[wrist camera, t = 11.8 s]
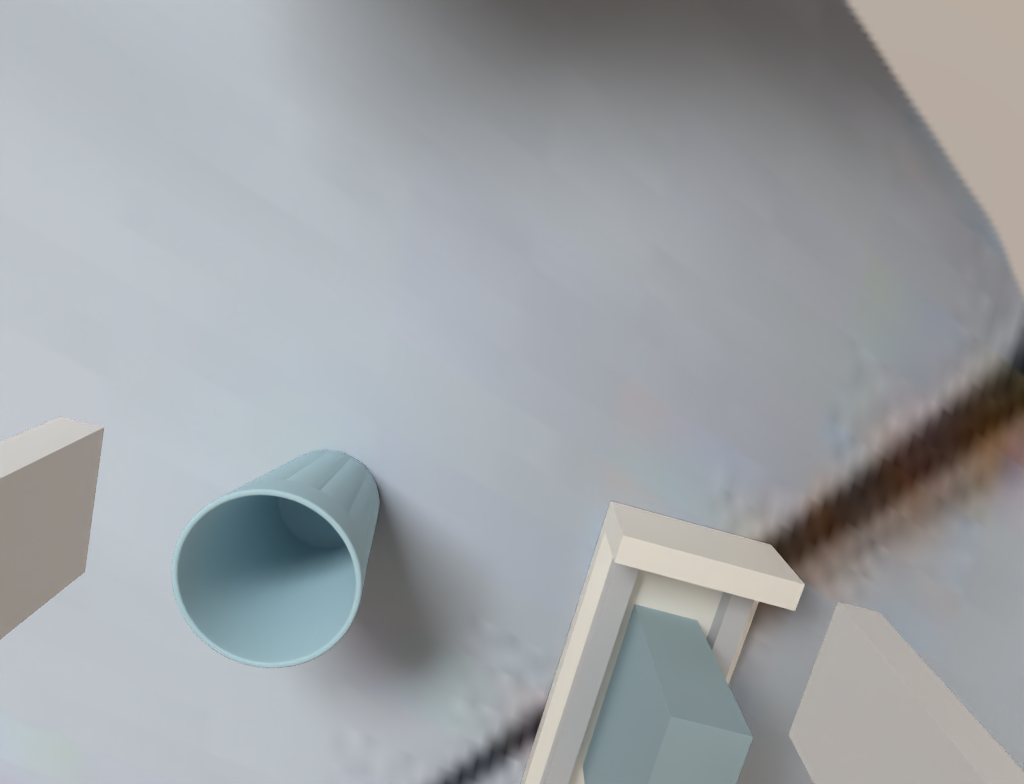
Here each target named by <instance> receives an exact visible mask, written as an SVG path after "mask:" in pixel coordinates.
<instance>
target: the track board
mask: <svg viewBox="0 0 1024 784" xmlns="http://www.w3.org/2000/svg"><path fill="white" fill-rule="evenodd" d="M804 586H805V584H804V583H803V582H802V581H801V579H800V578H799V577H798V576H797V575H796V573H795V572H794V571H793V570H792V569H791V568H790V566H789V565H788V564H787V563H786V562H785V561H784V559H783V558H782V557H781V556H780V555H779V554H778V552H777V551H776V550H775V549H774V548H773V546H772V545H770V544H767V543H763V542H759V541H756V540H752V539H748V538H745V537H741V536H737V535H734V534H730V533H726V532H723V531H719V530H715V529H712V528H708V527H704V526H701V525H697V524H693V523H690V522H686V521H682V520H679V519H675V518H671V517H668V516H664V515H660V514H657V513H653V512H649V511H646V510H642V509H638V508H635V507H631V506H627V505H624V504H620V503H616V502H613V501H611V502H610V505H609V508H608V511H607V514H606V517H605V520H604V524H603V527H602V530H601V533H600V536H599V539H598V542H597V546H596V549H595V552H594V555H593V558H592V561H591V564H590V568H589V571H588V574H587V577H586V580H585V583H584V586H583V590H582V593H581V596H580V599H579V602H578V605H577V608H576V612H575V615H574V618H573V621H572V624H571V627H570V630H569V634H568V637H567V640H566V643H565V646H564V649H563V652H562V656H561V659H560V662H559V665H558V668H557V671H556V674H555V678H554V681H553V684H552V687H551V690H550V693H549V696H548V700H547V703H546V706H545V709H544V712H543V715H542V718H541V722H540V725H539V728H538V731H537V734H536V737H535V740H534V744H533V747H532V750H531V753H530V756H529V759H528V762H527V766H526V769H525V772H524V775H523V778H522V781H521V784H585V782H584V773H583V763H584V760H585V757H586V754H587V751H588V747H589V744H590V741H591V738H592V735H593V732H594V729H595V726H596V723H597V719H598V716H599V713H600V710H601V707H602V704H603V701H604V698H605V695H606V691H607V688H608V685H609V682H610V679H611V676H612V673H613V670H614V666H615V663H616V660H617V657H618V654H619V651H620V648H621V645H622V642H623V638H624V635H625V632H626V629H627V626H628V623H629V620H630V617H631V614H632V610H633V607H634V604H636V605H640V606H644V607H647V608H651V609H655V610H659V611H663V612H667V613H671V614H675V615H679V616H682V617H686V618H690V619H694V620H697V621H698V623H699V625H700V627H701V629H702V631H703V633H704V635H705V637H706V639H707V642H708V644H709V646H710V648H711V650H712V652H713V654H714V656H715V658H716V660H717V662H718V664H719V667H720V669H721V671H722V673H723V675H724V677H725V679H726V681H727V683H728V685H729V682H730V680H731V677H732V674H733V672H734V669H735V666H736V663H737V661H738V658H739V655H740V652H741V650H742V647H743V644H744V641H745V639H746V636H747V633H748V630H749V628H750V625H751V622H752V619H753V617H754V614H755V611H756V608H757V606H758V603H759V601H760V602H763V603H767V604H771V605H774V606H778V607H782V608H786V609H789V610H793V611H795V610H796V607H797V605H798V602H799V599H800V597H801V594H802V591H803V589H804Z"/></svg>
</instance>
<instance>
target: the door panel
mask: <svg viewBox="0 0 1024 784" xmlns="http://www.w3.org/2000/svg"><path fill="white" fill-rule="evenodd" d="M752 739H753V735H752V733H751V731H750V729H749V727H748V725H747V723H746V721H745V719H744V717H743V715H742V712H741V710H740V708H739V706H738V704H737V702H736V700H735V698H734V696H733V694H732V692H731V690H730V687H729V685H728V683H727V681H726V679H725V677H724V675H723V673H722V671H721V669H720V667H719V664H718V662H717V660H716V658H715V656H714V654H713V652H712V650H711V648H710V646H709V644H708V642H707V639H706V637H705V635H704V633H703V631H702V629H701V627H700V625H699V623H698V621H697V620H694V619H690V618H686V617H682V616H679V615H675V614H671V613H667V612H663V611H659V610H655V609H651V608H647V607H644V606H640V605H636V604H634V607H633V610H632V614H631V617H630V620H629V623H628V626H627V629H626V632H625V635H624V638H623V642H622V645H621V648H620V651H619V654H618V657H617V660H616V663H615V666H614V670H613V673H612V676H611V679H610V682H609V685H608V688H607V691H606V695H605V698H604V701H603V704H602V707H601V710H600V713H599V716H598V719H597V723H596V726H595V729H594V732H593V735H592V738H591V741H590V744H589V747H588V751H587V754H586V757H585V760H584V763H583V773H584V782H585V784H736V783H737V780H738V778H739V775H740V772H741V769H742V767H743V764H744V761H745V758H746V756H747V753H748V750H749V747H750V745H751V742H752Z"/></svg>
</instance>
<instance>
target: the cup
mask: <svg viewBox="0 0 1024 784" xmlns="http://www.w3.org/2000/svg"><path fill="white" fill-rule="evenodd" d="M379 506H380V498H379V494H378V489H377V485H376V482H375V480H374V478H373V476H372V475H371V474H370V472H369V471H368V470H367V468H366V467H365V466H364V465H363V464H362V463H361V462H360V461H358V460H356V459H355V458H353V457H351V456H349V455H347V454H345V453H342V452H339V451H328V450H318V451H313V452H311V453H309V454H306V455H303V456H300V457H298V458H296V459H294V460H292V461H290V462H288V463H286V464H285V465H283V466H281V467H279V468H277V469H275V470H273V471H271V472H269V473H267V474H265V475H263V476H261V477H260V478H258V479H256V480H254V481H252V482H250V483H248V484H246V485H244V486H242V487H240V488H238V489H236V490H234V491H232V492H230V493H228V494H226V495H224V496H222V497H220V498H219V499H217V500H215V501H213V502H211V503H210V504H208V505H207V506H206V507H204V508H203V509H202V510H201V511H199V512H198V513H197V514H196V515H195V516H194V517H193V519H192V520H191V521H190V522H189V523H188V524H187V526H186V527H185V529H184V531H183V532H182V534H181V536H180V538H179V540H178V542H177V545H176V548H175V551H174V555H173V561H172V585H173V591H174V595H175V599H176V602H177V604H178V607H179V609H180V611H181V613H182V615H183V617H184V619H185V621H186V622H187V623H188V625H189V626H190V628H191V629H192V630H193V632H194V633H195V634H196V635H197V636H198V637H199V638H200V639H201V640H202V641H203V642H204V643H206V644H207V645H208V646H209V647H211V648H212V649H213V650H215V651H216V652H218V653H220V654H221V655H223V656H225V657H227V658H229V659H231V660H234V661H236V662H239V663H242V664H246V665H250V666H255V667H262V668H283V667H290V666H295V665H299V664H302V663H305V662H308V661H311V660H312V659H314V658H316V657H318V656H320V655H322V654H323V653H325V652H326V651H328V650H329V649H330V648H332V647H333V646H334V645H335V644H336V643H337V642H338V641H339V640H340V639H341V638H342V637H343V636H344V635H345V633H346V632H347V631H348V629H349V628H350V626H351V624H352V622H353V621H354V618H355V616H356V614H357V611H358V608H359V605H360V601H361V596H362V591H363V587H364V582H365V576H366V569H367V564H368V559H369V555H370V550H371V545H372V540H373V536H374V531H375V526H376V522H377V517H378V512H379Z"/></svg>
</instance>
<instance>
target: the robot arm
mask: <svg viewBox="0 0 1024 784" xmlns="http://www.w3.org/2000/svg"><path fill="white" fill-rule="evenodd" d="M103 432H104V427H101V426H97V425H92V424H88V423H84V422H80V421H76V420H71V419H67V418H63V417H58V418H55V419H53V420H51V421H48V422H46V423H44V424H41V425H39V426H36V427H34V428H32V429H29V430H27V431H25V432H22V433H20V434H18V435H15V436H13V437H10V438H8V439H6V440H3V441H1V442H0V639H1V638H3V637H4V636H5V635H6V634H8V633H9V632H10V631H11V630H13V629H14V628H15V627H16V626H18V625H19V624H20V623H21V622H23V621H24V620H25V619H26V618H28V617H29V616H30V615H31V614H33V613H34V612H35V611H36V610H38V609H39V608H40V607H41V606H43V605H44V604H45V603H46V602H48V601H49V600H50V599H51V598H53V597H54V596H55V595H56V594H58V593H59V592H60V591H61V590H63V589H64V588H65V587H66V586H68V585H69V584H70V583H71V582H73V581H74V580H75V579H76V578H78V577H79V576H80V575H82V574H83V573H84V572H85V567H86V559H87V552H88V544H89V537H90V529H91V522H92V514H93V507H94V499H95V492H96V484H97V477H98V470H99V462H100V455H101V447H102V440H103ZM789 736H790V738H791V740H792V742H793V744H794V746H795V748H796V750H797V752H798V754H799V756H800V758H801V760H802V762H803V764H804V766H805V768H806V770H807V772H808V774H809V775H810V777H811V779H812V781H813V783H814V784H1024V772H1023V771H1022V769H1021V768H1020V767H1019V766H1018V765H1017V764H1016V763H1015V762H1014V761H1013V759H1012V758H1011V757H1010V756H1009V755H1008V754H1007V753H1006V752H1005V751H1004V750H1003V748H1002V747H1001V746H1000V745H999V744H998V743H997V742H996V741H995V740H994V738H993V737H992V736H991V735H990V734H989V733H988V732H987V731H986V730H985V728H984V727H983V726H982V725H981V724H980V723H979V722H978V721H977V720H976V719H975V717H974V716H973V715H972V714H971V713H970V712H969V711H968V710H967V709H966V707H965V706H964V705H963V704H962V703H961V702H960V701H959V700H958V699H957V698H956V696H955V695H954V694H953V693H952V692H951V691H950V690H949V689H948V688H947V686H946V685H945V684H944V683H943V682H942V681H941V680H940V679H939V678H938V676H937V675H936V674H935V673H934V672H933V671H932V670H931V669H930V668H929V667H928V665H927V664H926V663H925V662H924V661H923V660H922V659H921V658H920V657H919V655H918V654H917V653H916V652H915V651H914V650H913V649H912V648H911V647H910V645H909V644H908V643H907V642H906V641H905V640H904V639H903V638H902V637H901V636H900V634H899V633H898V632H897V631H896V630H895V629H894V628H893V627H892V626H891V624H890V623H889V622H888V621H887V620H886V619H885V618H884V617H883V616H882V615H881V613H880V612H878V611H874V610H870V609H865V608H861V607H857V606H853V605H849V604H844V603H840V602H838V603H837V605H836V608H835V611H834V613H833V616H832V619H831V621H830V624H829V627H828V629H827V632H826V635H825V637H824V640H823V643H822V646H821V648H820V651H819V654H818V656H817V659H816V662H815V664H814V667H813V670H812V672H811V675H810V678H809V680H808V683H807V686H806V689H805V691H804V694H803V697H802V699H801V702H800V705H799V707H798V710H797V713H796V715H795V718H794V721H793V723H792V726H791V729H790V731H789Z"/></svg>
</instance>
